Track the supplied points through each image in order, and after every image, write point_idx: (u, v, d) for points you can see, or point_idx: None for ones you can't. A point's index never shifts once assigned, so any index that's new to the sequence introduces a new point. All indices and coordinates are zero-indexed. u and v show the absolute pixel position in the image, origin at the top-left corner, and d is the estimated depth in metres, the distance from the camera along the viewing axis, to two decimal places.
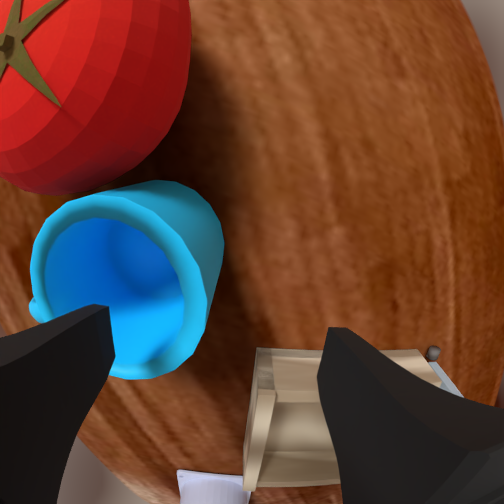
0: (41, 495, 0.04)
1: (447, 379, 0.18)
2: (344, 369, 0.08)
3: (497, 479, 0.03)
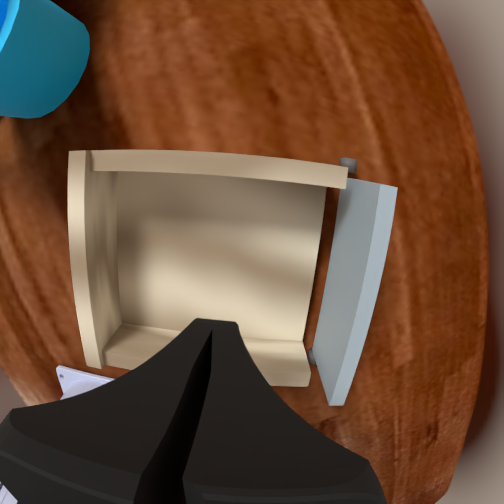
0: None
1: (366, 181, 0.14)
2: None
3: None
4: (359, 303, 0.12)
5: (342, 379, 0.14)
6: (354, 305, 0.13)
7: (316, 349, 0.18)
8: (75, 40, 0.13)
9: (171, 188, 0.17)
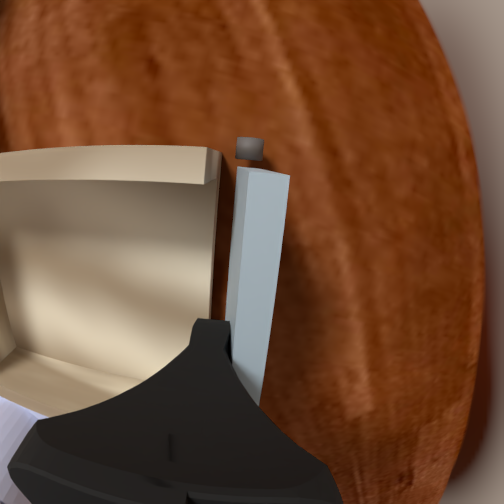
0: None
1: None
2: None
3: None
4: None
5: None
6: None
7: None
8: None
9: (34, 196, 0.11)
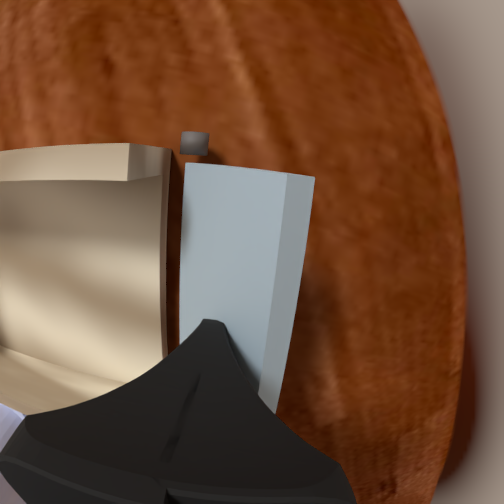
0: None
1: None
2: None
3: None
4: (262, 378, 0.07)
5: None
6: (251, 379, 0.08)
7: None
8: None
9: (1, 196, 0.11)
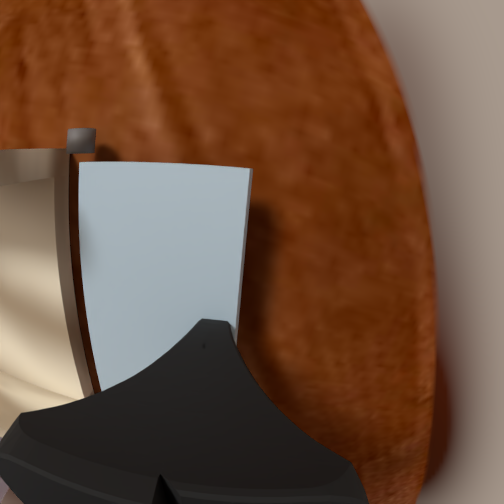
0: None
1: (153, 163, 0.09)
2: None
3: None
4: (235, 337, 0.09)
5: None
6: None
7: None
8: None
9: None
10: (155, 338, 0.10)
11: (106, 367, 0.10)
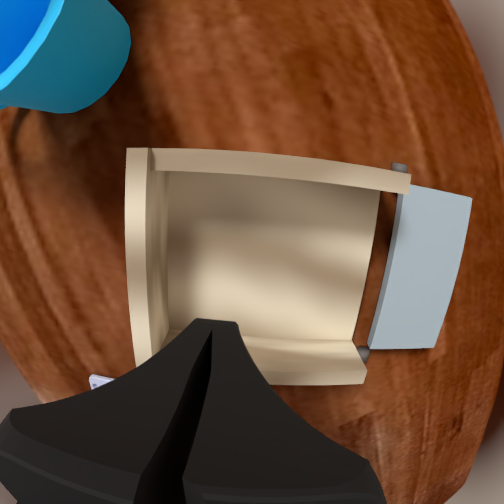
0: None
1: (433, 189, 0.17)
2: None
3: None
4: (457, 271, 0.17)
5: None
6: (452, 275, 0.18)
7: (384, 340, 0.19)
8: (119, 31, 0.13)
9: (229, 189, 0.17)
10: (425, 277, 0.18)
11: (390, 303, 0.18)
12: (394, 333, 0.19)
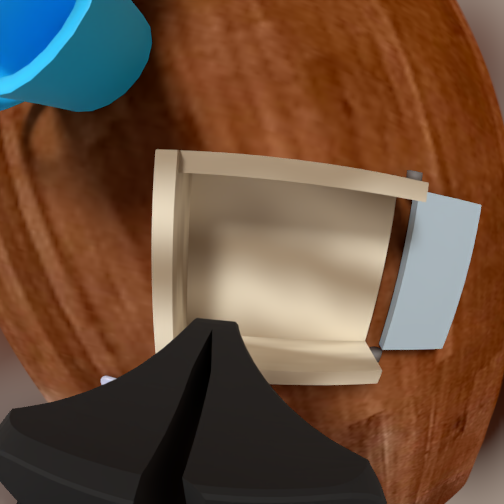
0: None
1: None
2: None
3: None
4: None
5: None
6: (461, 278, 0.18)
7: (396, 342, 0.19)
8: (141, 30, 0.13)
9: (252, 193, 0.17)
10: (436, 280, 0.18)
11: (402, 305, 0.19)
12: (405, 334, 0.19)
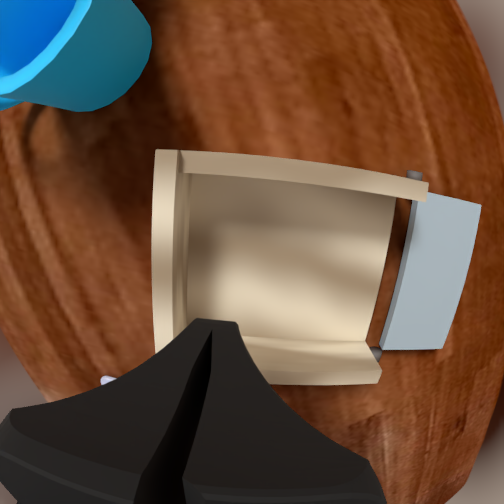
0: None
1: None
2: None
3: None
4: None
5: None
6: (461, 278, 0.18)
7: (396, 342, 0.19)
8: (141, 30, 0.13)
9: (252, 193, 0.17)
10: (436, 280, 0.18)
11: (402, 305, 0.19)
12: (405, 334, 0.19)
